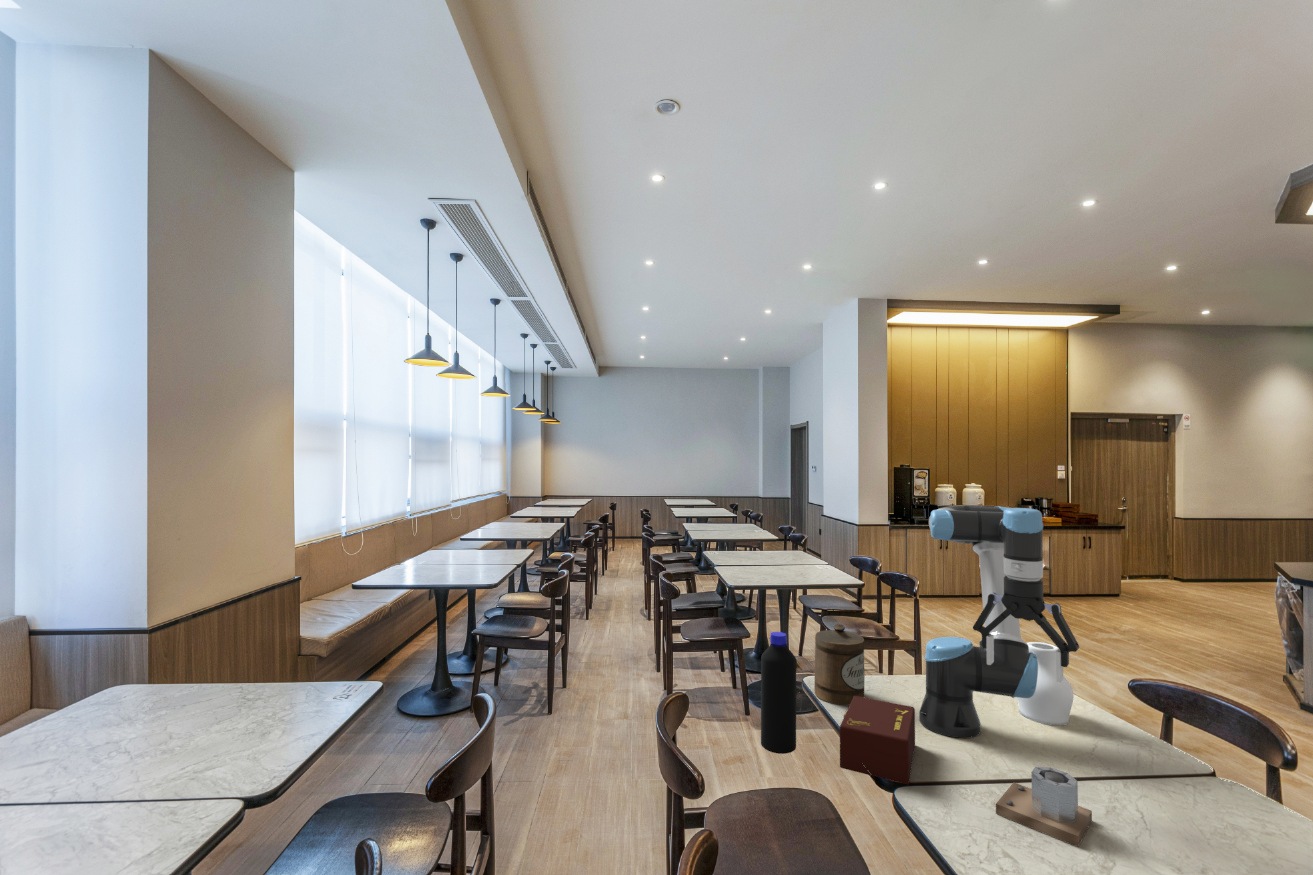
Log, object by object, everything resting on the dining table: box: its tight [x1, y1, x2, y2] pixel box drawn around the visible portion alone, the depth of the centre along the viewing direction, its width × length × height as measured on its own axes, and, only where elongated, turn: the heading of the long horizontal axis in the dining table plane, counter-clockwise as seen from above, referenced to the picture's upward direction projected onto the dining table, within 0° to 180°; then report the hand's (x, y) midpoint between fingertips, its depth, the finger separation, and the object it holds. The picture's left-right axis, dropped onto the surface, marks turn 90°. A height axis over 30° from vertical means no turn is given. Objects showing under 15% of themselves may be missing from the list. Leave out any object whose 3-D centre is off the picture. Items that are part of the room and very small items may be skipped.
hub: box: [1030, 766, 1079, 823], centre depth 117 cm, size 7×7×7 cm
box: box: [839, 696, 916, 785], centre depth 143 cm, size 21×16×10 cm
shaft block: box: [995, 772, 1093, 848], centre depth 118 cm, size 14×12×9 cm
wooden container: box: [814, 623, 866, 706], centre depth 180 cm, size 15×15×22 cm
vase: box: [1016, 641, 1075, 726], centre depth 166 cm, size 14×14×20 cm
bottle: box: [760, 631, 797, 755], centre depth 147 cm, size 9×9×28 cm
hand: (1023, 671), depth 130 cm, fingers open, 13 cm apart
